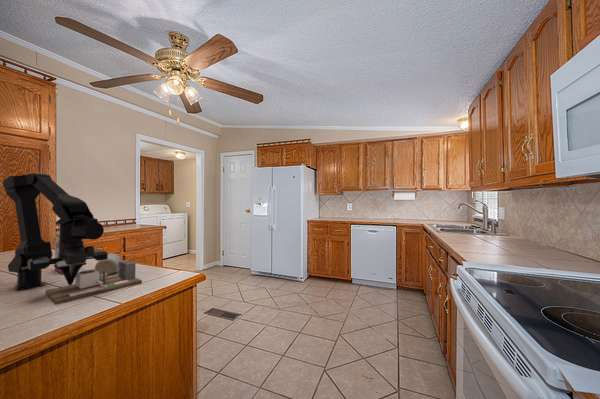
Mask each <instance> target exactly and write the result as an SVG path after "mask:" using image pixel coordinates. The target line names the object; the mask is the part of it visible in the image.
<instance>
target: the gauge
mask: <svg viewBox="0 0 600 399" xmlns="http://www.w3.org/2000/svg"><path fill="white" fill-rule="evenodd" d="M108 276H109V275H107V273H105V278H108ZM99 279H103V274H99V271H97V270H95V268H92V269H84V270H80V271H78V272H77V274H76V277H75V279H74V284H75V285H76V286H77V287H79V288H80V289H82V288H86V287H91V286H95V285H100V286H101V285H103V282H101V281H100V280H99Z"/></svg>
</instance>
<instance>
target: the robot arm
mask: <svg viewBox="0 0 600 399" xmlns="http://www.w3.org/2000/svg"><path fill="white" fill-rule="evenodd" d="M2 186H3V187H2V188H4V191H5V194H6V196H8V198H10V199H11V200H12V201H13V202H14V206H15V212H16V220H17V224H18V231H19V238H20V243H19V244H18V246H17V247H16V249H15V250H14V257H13V258H12V259H11V261H10V262H9V263H8V265H7V268H8V269H7V270H8V272H9V273H16V275H17V276H16V277H17V278H16V284H15V285H13V287H14V290H16V291H17V292H18V291H23V290H27V289H28V290H29V289H32V288H38V287H43V286H45V283H44V282H43V281H42V276H43V275H42V274H43V273H42V270H44V269H47V268H48V267H50V266H52V265H53V267H54V269H55V268H57V269H60V270H61V271H62V273H63V274H64V275H63V274H62V275H63V276H64V278H65V281H66V283H67V284H68V285H67V286H69V285H73V284H74V282H75V277H76V274H77V272H78V271H79V270H80V269H81V268H82V267H83V266H86V265H87V264H88V263H87V260H90V259H91V260H92V259H94V260H95V261H97V262H98V261H99V260H105V259H108V254H109V253H108V252H107V251H106V250H103V249H97V250H96V249H95V247H94V246H93V245H89V246H84V240H91V241H92V240H93V241H94V240H95V241H96V240H98V239H99V238H101V237H102V236H103V234H104V232H105V229H104V226H103V224H101V223H100V222H98V218H94V217H95V216H94V214H93V213H92V212H91V210H90V208H89V206H88V204H87V203H86V201H84V200H82V199H81V198H79V197H76V196H73V195H70V194H69V193H68V192H66V191H65V190H64V189H63V188H62V187H61V186H60V185H59V184H57V183H56V182H55V181H54V180H53V179H52V177H51V175H49V174H46V173H34V172H33V173H28V174H20V175H9V176H7V177H6V178H4V179H3V181H2ZM40 194H42V196H44V197H45V198H46V199H47V200H48V201H49V202H50V203H51V204H52V208H51V211H52V212H54V214H55V215H56V216H57V218H59V219H58V220H57V221H55V225H59V258H55V257H53V251H52V244H51V242H49V241H45V240H44V239H42V238H43V237H42V234H41V233H42V232H41V228H40V227H41V226H40V221H39V215H38V208H37V203H36V202H37V201H36V199H38V196H39V195H40ZM69 265H71V268H70V266H69Z"/></svg>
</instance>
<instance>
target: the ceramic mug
mask: <svg viewBox="0 0 600 399" xmlns="http://www.w3.org/2000/svg"><path fill="white" fill-rule="evenodd" d="M119 261H123V260H122V258H121V256H120V255H119V254H116V253H108V259H105V260H98V261H97V262H96V264H95V266H94V269H95V270H97V271H99V274H103V271H105V273H107V275H108V276H109V275H112V274H114V273H115V272H116V273H119Z"/></svg>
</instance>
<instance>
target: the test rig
mask: <svg viewBox="0 0 600 399" xmlns="http://www.w3.org/2000/svg"><path fill="white" fill-rule="evenodd" d="M136 266H137V265H136V262H134V261H131V260H128V259H126V260H122V261H119V272H118V274H117V275H114V276H109V277H108V276H107V277H106V278H105V285H101V286H100V285H95V286H91V287H86V288H82V289H80V288H79V287H77V286H76V285H75V283H73V284H72V285H65V286H60V287H55V288H51V289H45V294H46V296H47V297H48V298H49V299H50V300H51V301H52V303H53V304H54V305H58V304H62V303H67V302H71V301H76V300H79V299H84V298H87V297H91V296H95V295H99V294H104V293H108V292H113V291H117V290H120V289H124V288H128V287H129V288H130V287H132V286H136V285H137V286H138V285H141V284H142V283H143V280H141V279H139V278H137V277H136ZM99 280H100V281H101V282H103V278H101V279H99Z"/></svg>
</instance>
